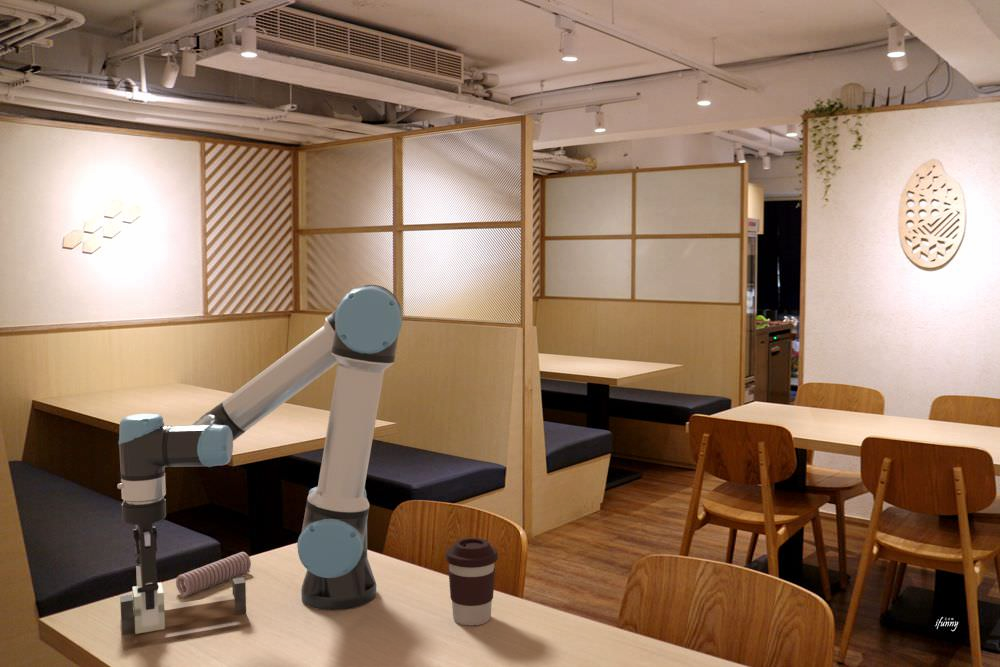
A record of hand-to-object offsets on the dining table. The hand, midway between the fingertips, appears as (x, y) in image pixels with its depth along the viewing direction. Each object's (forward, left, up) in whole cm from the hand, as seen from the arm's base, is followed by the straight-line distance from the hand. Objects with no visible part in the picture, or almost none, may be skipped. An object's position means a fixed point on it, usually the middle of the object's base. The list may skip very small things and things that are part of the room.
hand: (147, 611), depth 160 cm
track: (-7, 0, -4) cm, 8 cm away
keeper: (0, 0, -3) cm, 3 cm away
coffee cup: (-57, +21, -4) cm, 60 cm away
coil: (-15, -20, -4) cm, 25 cm away
